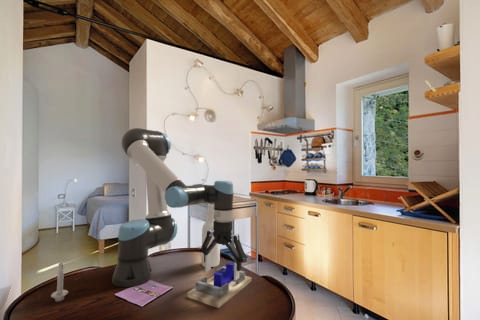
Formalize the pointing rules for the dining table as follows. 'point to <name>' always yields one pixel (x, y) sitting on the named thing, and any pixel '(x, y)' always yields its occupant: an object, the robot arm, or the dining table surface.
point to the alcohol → (206, 227)
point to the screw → (60, 285)
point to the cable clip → (224, 276)
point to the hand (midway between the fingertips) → (221, 274)
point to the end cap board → (217, 289)
